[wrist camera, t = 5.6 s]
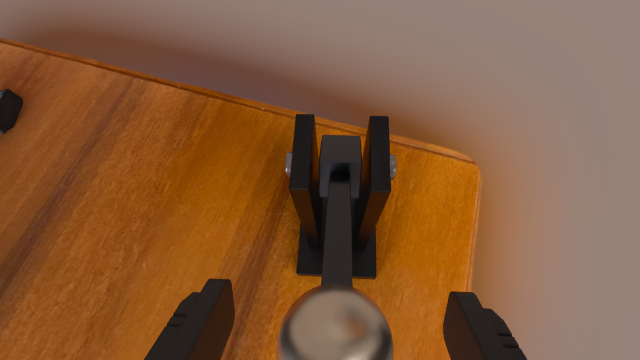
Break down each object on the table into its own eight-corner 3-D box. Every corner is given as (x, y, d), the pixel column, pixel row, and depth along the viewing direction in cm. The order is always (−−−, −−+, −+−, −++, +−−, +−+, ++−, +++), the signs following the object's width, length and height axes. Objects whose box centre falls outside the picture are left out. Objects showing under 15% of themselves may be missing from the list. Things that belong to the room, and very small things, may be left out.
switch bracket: (374, 279, 29) (415, 240, 15) (297, 275, 29) (262, 233, 15) (373, 187, 33) (405, 81, 18) (304, 184, 33) (282, 79, 18)
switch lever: (391, 436, 10) (410, 387, 8) (273, 427, 10) (260, 376, 8) (368, 177, 20) (373, 126, 18) (311, 176, 20) (309, 124, 18)
